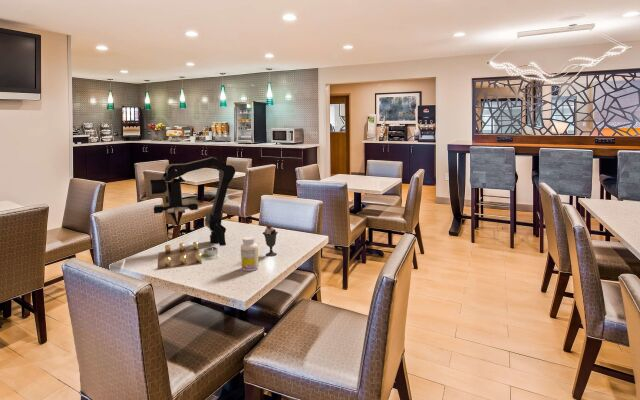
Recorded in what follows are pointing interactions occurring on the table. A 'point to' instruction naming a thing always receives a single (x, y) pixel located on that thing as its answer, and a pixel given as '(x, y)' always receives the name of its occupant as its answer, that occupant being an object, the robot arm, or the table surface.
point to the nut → (210, 251)
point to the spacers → (182, 257)
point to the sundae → (270, 239)
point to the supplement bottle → (249, 254)
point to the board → (177, 261)
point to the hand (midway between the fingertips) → (177, 225)
